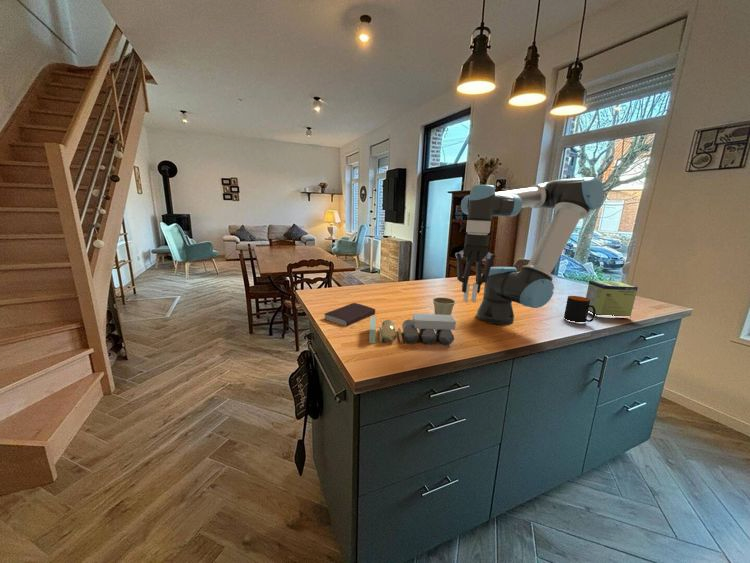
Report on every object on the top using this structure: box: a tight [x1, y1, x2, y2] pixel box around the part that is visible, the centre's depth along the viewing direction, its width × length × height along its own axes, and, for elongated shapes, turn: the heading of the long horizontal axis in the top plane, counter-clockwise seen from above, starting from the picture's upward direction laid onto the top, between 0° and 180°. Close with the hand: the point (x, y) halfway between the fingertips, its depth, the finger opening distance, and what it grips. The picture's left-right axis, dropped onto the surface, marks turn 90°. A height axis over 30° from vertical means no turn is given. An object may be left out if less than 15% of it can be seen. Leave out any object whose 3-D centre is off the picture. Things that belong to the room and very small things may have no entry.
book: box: [323, 302, 376, 327], centre depth 127 cm, size 12×19×3 cm, turn 145°
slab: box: [411, 313, 457, 331], centre depth 107 cm, size 14×7×3 cm, turn 90°
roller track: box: [378, 319, 455, 346], centre depth 108 cm, size 25×11×5 cm, turn 90°
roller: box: [381, 319, 397, 344], centre depth 108 cm, size 10×5×5 cm, turn 0°
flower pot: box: [432, 296, 456, 316], centre depth 127 cm, size 9×9×9 cm
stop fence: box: [368, 316, 377, 344], centre depth 108 cm, size 2×12×5 cm, turn 0°
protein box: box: [585, 280, 639, 317], centre depth 143 cm, size 10×16×16 cm
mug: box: [563, 295, 596, 323], centre depth 131 cm, size 8×12×10 cm
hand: (469, 301), depth 106 cm, fingers open, 2 cm apart
